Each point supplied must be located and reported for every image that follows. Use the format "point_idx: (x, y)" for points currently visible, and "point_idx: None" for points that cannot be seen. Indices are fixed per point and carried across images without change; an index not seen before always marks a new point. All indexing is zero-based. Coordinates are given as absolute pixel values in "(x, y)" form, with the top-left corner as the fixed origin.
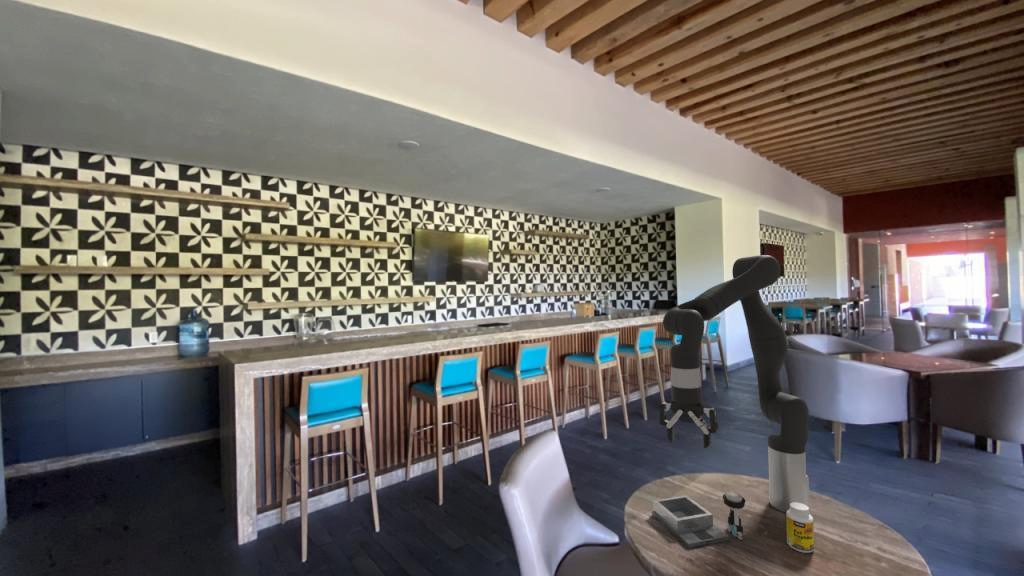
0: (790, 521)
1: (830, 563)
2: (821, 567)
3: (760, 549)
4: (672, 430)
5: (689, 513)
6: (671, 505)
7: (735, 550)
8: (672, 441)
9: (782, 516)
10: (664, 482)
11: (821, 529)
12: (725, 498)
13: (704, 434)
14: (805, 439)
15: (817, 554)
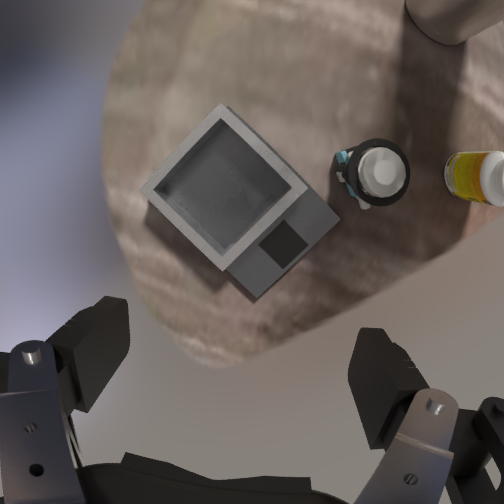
0: (480, 194)
1: (489, 211)
2: (476, 231)
3: (397, 220)
4: (91, 394)
5: (238, 150)
6: (188, 155)
7: (350, 250)
8: (126, 353)
9: (433, 57)
10: (151, 4)
11: (487, 91)
12: (357, 185)
13: (380, 447)
14: None
15: None
